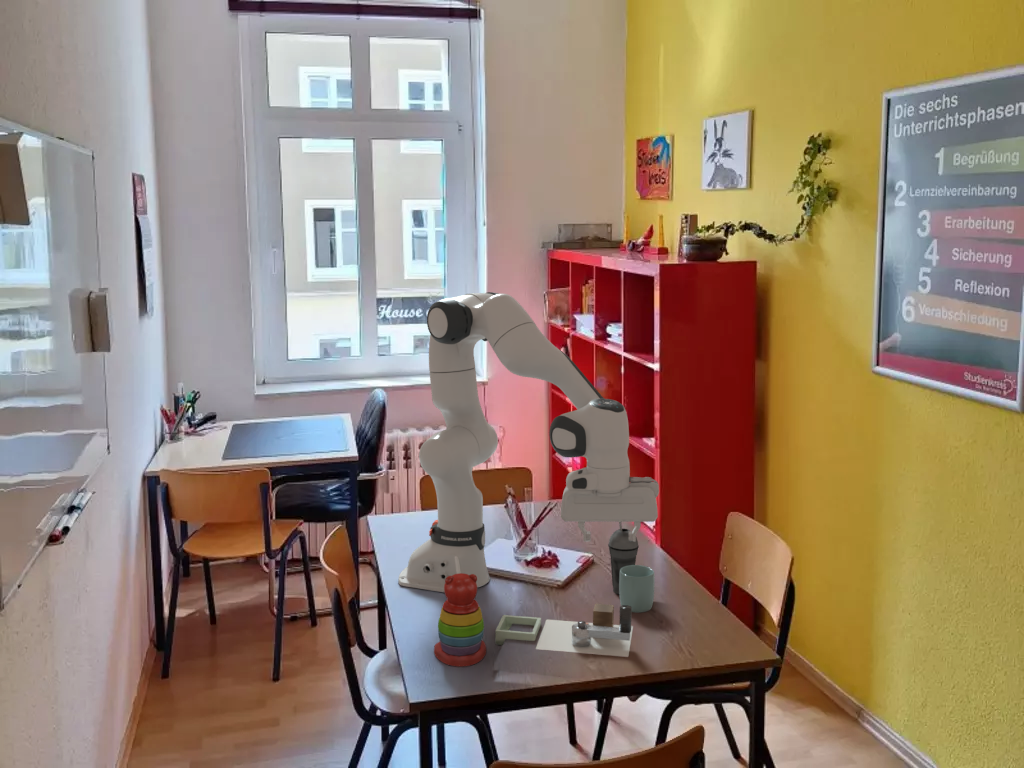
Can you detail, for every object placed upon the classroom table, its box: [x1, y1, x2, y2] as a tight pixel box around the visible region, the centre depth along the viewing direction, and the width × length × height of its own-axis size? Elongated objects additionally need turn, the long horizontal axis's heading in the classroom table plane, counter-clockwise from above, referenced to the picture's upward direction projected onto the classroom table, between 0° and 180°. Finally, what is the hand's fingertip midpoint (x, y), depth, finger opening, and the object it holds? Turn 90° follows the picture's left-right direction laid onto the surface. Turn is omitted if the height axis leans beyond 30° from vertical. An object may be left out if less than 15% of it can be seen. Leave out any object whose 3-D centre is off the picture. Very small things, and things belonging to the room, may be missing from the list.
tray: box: [494, 614, 542, 646], centre depth 208 cm, size 8×8×3 cm
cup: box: [618, 564, 656, 613], centre depth 221 cm, size 8×8×10 cm
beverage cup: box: [607, 522, 640, 595], centre depth 232 cm, size 7×7×20 cm
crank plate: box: [535, 619, 634, 658], centre depth 205 cm, size 19×15×2 cm
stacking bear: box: [433, 573, 487, 668], centre depth 198 cm, size 11×10×18 cm
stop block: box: [592, 603, 615, 639], centre depth 206 cm, size 4×4×6 cm
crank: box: [572, 605, 633, 647], centre depth 201 cm, size 12×4×8 cm, turn 79°
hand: (609, 540), depth 205 cm, fingers open, 8 cm apart
